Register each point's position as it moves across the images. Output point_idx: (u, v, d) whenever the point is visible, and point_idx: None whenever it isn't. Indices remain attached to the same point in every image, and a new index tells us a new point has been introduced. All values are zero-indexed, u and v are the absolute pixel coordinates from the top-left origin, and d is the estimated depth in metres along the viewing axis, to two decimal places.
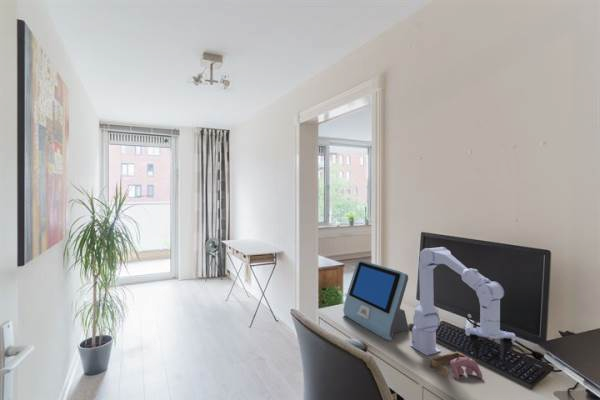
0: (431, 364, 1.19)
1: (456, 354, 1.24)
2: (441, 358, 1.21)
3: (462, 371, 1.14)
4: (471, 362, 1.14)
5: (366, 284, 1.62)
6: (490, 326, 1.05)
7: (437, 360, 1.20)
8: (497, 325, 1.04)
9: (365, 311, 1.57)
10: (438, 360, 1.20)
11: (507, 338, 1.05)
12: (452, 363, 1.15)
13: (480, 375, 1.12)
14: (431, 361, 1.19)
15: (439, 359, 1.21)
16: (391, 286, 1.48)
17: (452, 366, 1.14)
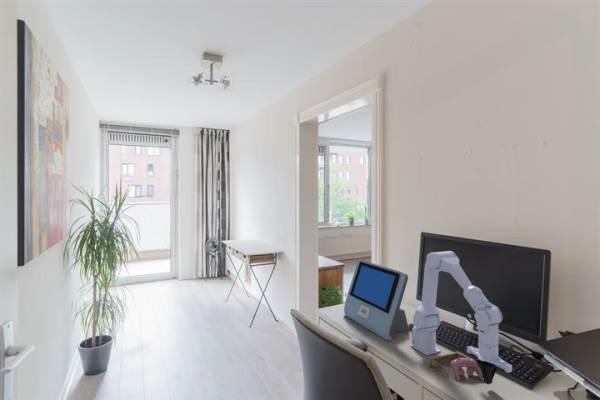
0: (431, 364, 1.19)
1: (456, 354, 1.24)
2: (441, 358, 1.21)
3: (463, 372, 1.14)
4: (472, 362, 1.14)
5: (366, 284, 1.62)
6: (481, 348, 1.06)
7: (437, 360, 1.20)
8: (488, 350, 1.04)
9: (365, 311, 1.57)
10: (438, 360, 1.20)
11: (502, 367, 1.02)
12: (453, 364, 1.15)
13: (481, 375, 1.11)
14: (431, 361, 1.19)
15: (439, 359, 1.21)
16: (391, 286, 1.48)
17: (453, 367, 1.14)
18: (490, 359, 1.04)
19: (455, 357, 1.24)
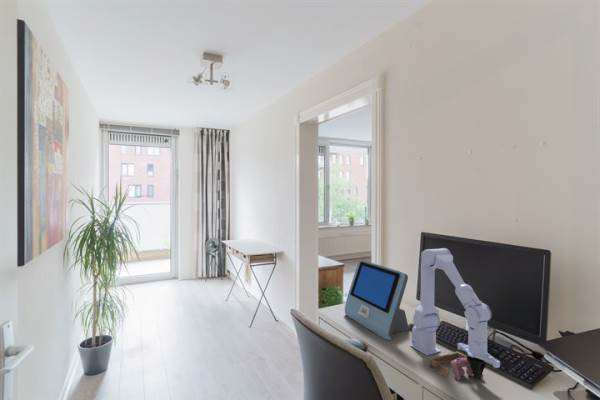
0: (431, 364, 1.19)
1: (456, 354, 1.24)
2: (441, 358, 1.21)
3: (463, 372, 1.14)
4: None
5: (367, 284, 1.62)
6: (470, 345, 1.09)
7: (437, 360, 1.20)
8: (477, 346, 1.07)
9: (365, 311, 1.57)
10: (438, 360, 1.20)
11: (490, 363, 1.05)
12: (453, 364, 1.14)
13: None
14: (431, 361, 1.19)
15: (439, 359, 1.21)
16: (391, 286, 1.48)
17: (453, 367, 1.14)
18: (479, 355, 1.07)
19: (455, 357, 1.24)
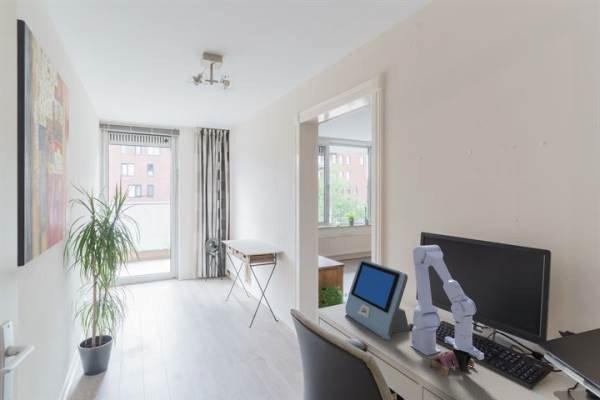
0: (431, 364, 1.19)
1: None
2: None
3: (451, 364, 1.19)
4: None
5: (367, 283, 1.63)
6: (456, 338, 1.14)
7: (437, 360, 1.20)
8: (462, 339, 1.13)
9: (365, 310, 1.58)
10: (438, 360, 1.20)
11: (474, 355, 1.10)
12: (441, 357, 1.19)
13: (467, 367, 1.17)
14: (431, 361, 1.19)
15: None
16: (391, 286, 1.48)
17: (442, 360, 1.18)
18: (464, 348, 1.12)
19: None
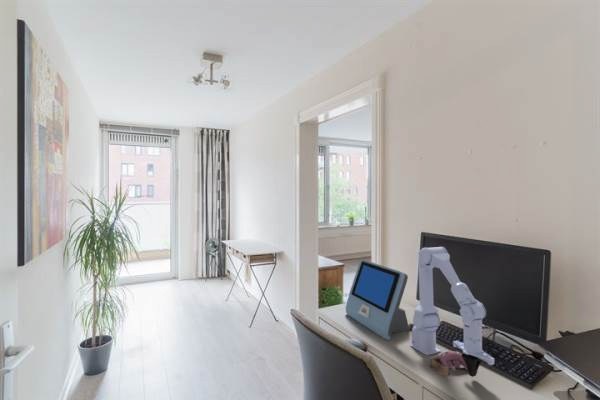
0: (431, 364, 1.19)
1: None
2: None
3: (451, 364, 1.19)
4: (459, 355, 1.19)
5: (367, 283, 1.63)
6: (465, 342, 1.11)
7: (437, 360, 1.20)
8: (472, 343, 1.09)
9: (366, 310, 1.58)
10: (438, 360, 1.20)
11: (485, 360, 1.07)
12: (441, 357, 1.19)
13: None
14: (431, 361, 1.19)
15: None
16: (391, 286, 1.48)
17: (442, 360, 1.18)
18: (474, 352, 1.09)
19: None
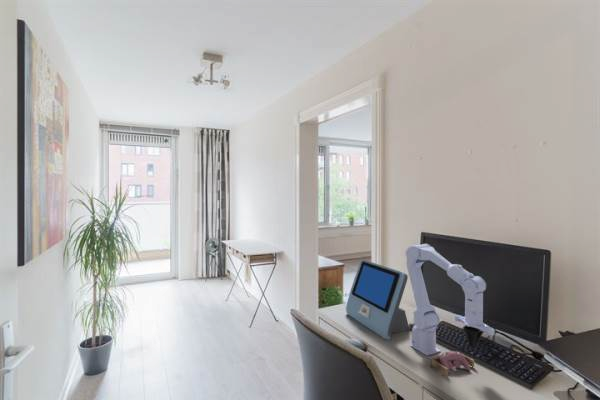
0: (431, 364, 1.19)
1: None
2: None
3: (451, 365, 1.19)
4: (459, 355, 1.19)
5: (367, 283, 1.63)
6: (467, 315, 1.15)
7: (437, 360, 1.20)
8: (473, 316, 1.14)
9: (366, 310, 1.58)
10: (438, 360, 1.20)
11: (485, 331, 1.11)
12: (442, 358, 1.19)
13: (468, 367, 1.17)
14: (431, 361, 1.19)
15: (439, 359, 1.21)
16: (390, 286, 1.48)
17: (442, 361, 1.18)
18: (475, 324, 1.13)
19: None
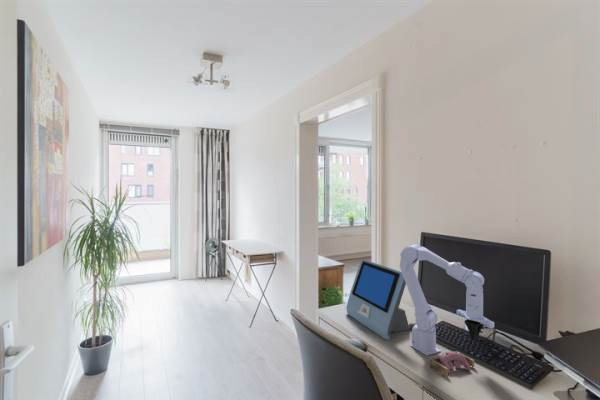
0: (431, 364, 1.19)
1: None
2: None
3: (451, 365, 1.18)
4: (459, 356, 1.19)
5: (368, 283, 1.63)
6: (468, 309, 1.21)
7: (437, 360, 1.20)
8: (474, 310, 1.19)
9: (366, 310, 1.58)
10: (438, 360, 1.20)
11: (485, 324, 1.17)
12: (442, 358, 1.18)
13: (468, 368, 1.17)
14: (431, 361, 1.19)
15: (439, 359, 1.21)
16: (390, 286, 1.48)
17: (442, 361, 1.18)
18: (476, 318, 1.19)
19: None
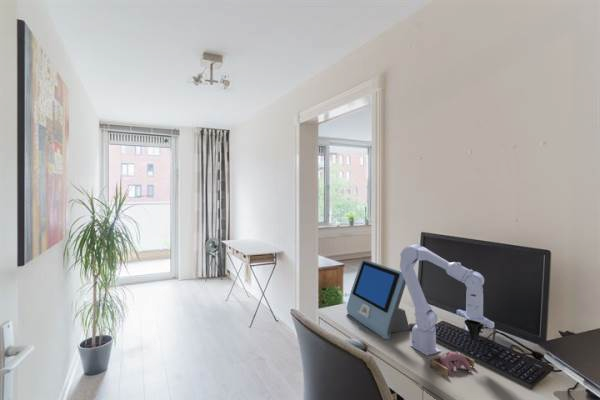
0: (431, 364, 1.19)
1: None
2: None
3: (452, 365, 1.18)
4: (460, 356, 1.19)
5: (368, 283, 1.63)
6: (468, 309, 1.21)
7: (437, 360, 1.20)
8: (474, 310, 1.19)
9: (366, 310, 1.58)
10: (438, 360, 1.20)
11: (485, 324, 1.17)
12: (443, 358, 1.18)
13: (469, 368, 1.16)
14: (431, 361, 1.19)
15: (439, 359, 1.21)
16: (390, 286, 1.48)
17: (443, 361, 1.18)
18: (476, 318, 1.19)
19: None
